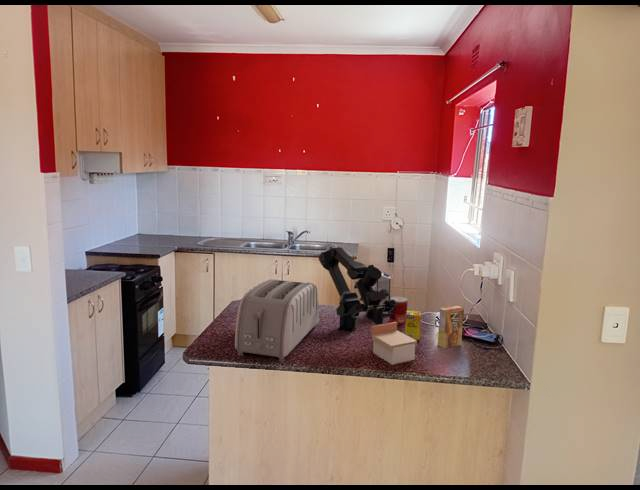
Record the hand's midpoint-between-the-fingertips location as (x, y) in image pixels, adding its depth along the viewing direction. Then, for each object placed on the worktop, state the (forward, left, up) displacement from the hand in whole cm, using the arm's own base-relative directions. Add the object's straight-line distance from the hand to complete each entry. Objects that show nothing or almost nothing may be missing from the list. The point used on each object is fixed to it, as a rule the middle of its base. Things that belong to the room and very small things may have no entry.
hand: (381, 327), depth 181 cm
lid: (+6, -5, -4) cm, 8 cm away
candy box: (+24, +15, -9) cm, 30 cm away
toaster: (-39, -9, -9) cm, 41 cm away
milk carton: (-11, +42, -9) cm, 44 cm away
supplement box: (+9, +16, -9) cm, 20 cm away
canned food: (-1, +33, -9) cm, 34 cm away
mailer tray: (+6, -5, -9) cm, 12 cm away
